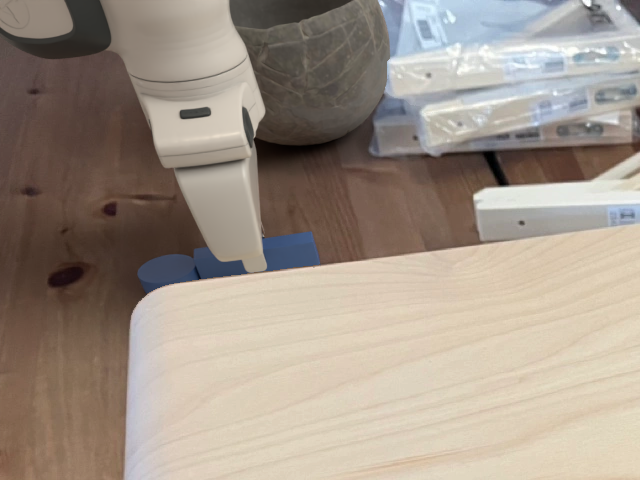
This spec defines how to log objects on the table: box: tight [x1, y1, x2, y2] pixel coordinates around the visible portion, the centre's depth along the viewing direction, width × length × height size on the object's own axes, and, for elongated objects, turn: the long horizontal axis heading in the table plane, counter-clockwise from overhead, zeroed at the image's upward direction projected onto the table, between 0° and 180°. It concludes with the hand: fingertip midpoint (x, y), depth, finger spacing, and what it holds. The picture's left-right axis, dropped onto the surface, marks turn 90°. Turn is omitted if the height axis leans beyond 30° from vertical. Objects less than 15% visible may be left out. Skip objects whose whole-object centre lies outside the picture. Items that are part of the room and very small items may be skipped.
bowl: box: [229, 0, 391, 146], centre depth 106 cm, size 20×20×15 cm
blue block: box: [136, 230, 321, 295], centre depth 90 cm, size 15×5×2 cm, turn 109°
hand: (256, 254), depth 90 cm, fingers open, 3 cm apart
